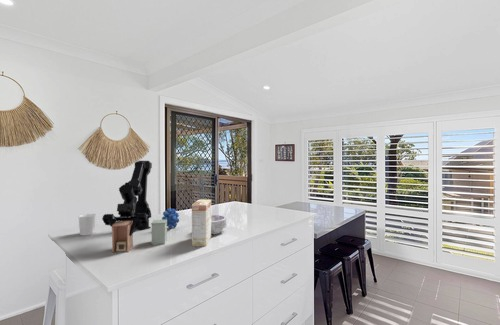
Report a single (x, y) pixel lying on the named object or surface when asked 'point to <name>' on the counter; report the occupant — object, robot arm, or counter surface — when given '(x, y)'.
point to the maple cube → (122, 245)
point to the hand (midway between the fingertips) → (121, 235)
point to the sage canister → (159, 231)
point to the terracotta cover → (122, 234)
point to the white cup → (87, 224)
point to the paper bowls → (217, 223)
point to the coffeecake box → (201, 222)
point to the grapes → (171, 217)
